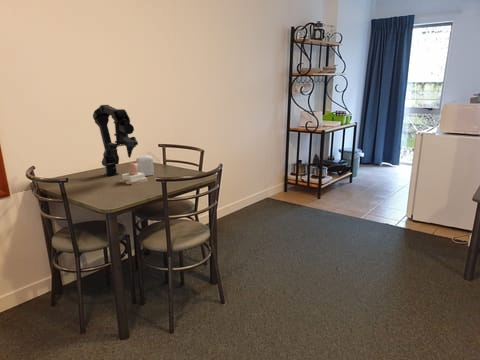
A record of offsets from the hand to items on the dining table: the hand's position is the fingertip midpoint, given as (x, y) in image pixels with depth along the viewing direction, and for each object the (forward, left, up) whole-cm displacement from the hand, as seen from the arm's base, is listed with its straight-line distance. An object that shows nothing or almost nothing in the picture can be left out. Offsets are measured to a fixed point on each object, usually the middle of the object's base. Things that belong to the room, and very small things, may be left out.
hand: (122, 159), depth 208 cm
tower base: (+7, +1, -13) cm, 15 cm away
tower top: (+7, +1, -11) cm, 13 cm away
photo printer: (+2, +14, -13) cm, 19 cm away
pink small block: (+7, +1, -8) cm, 11 cm away
